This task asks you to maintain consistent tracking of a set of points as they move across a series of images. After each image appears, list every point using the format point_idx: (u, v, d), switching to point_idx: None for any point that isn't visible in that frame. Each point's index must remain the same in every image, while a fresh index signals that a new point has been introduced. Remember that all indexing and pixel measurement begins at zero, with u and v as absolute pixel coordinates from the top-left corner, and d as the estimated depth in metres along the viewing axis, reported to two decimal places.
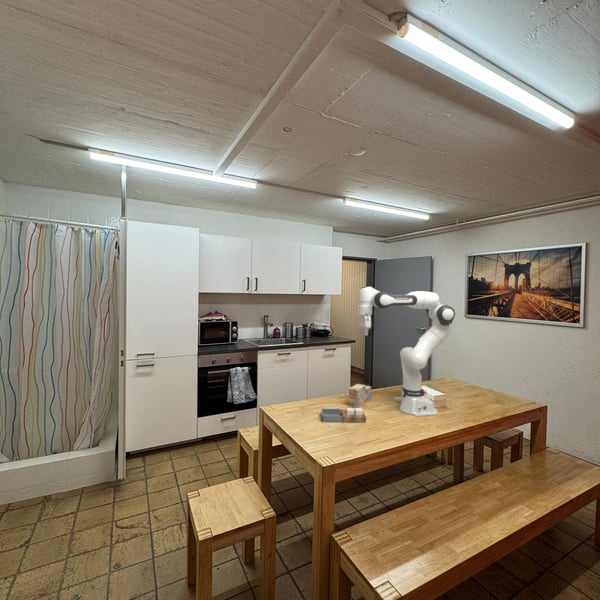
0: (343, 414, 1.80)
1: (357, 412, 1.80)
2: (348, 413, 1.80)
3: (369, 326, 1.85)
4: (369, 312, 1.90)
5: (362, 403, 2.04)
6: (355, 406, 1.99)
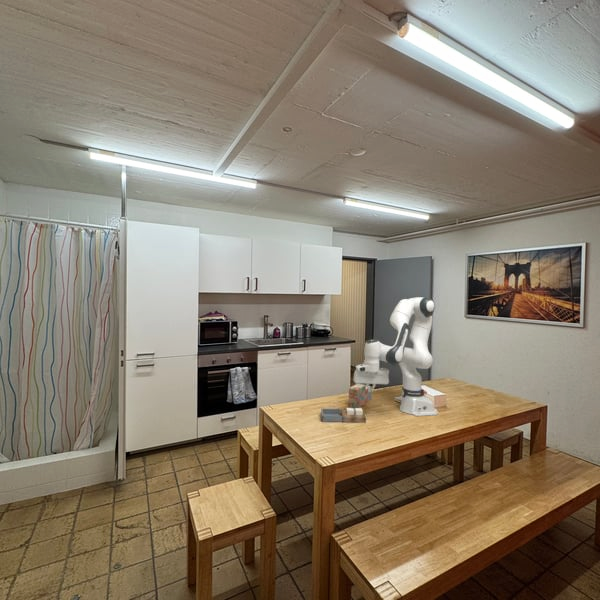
0: (343, 414, 1.80)
1: (357, 412, 1.80)
2: (348, 413, 1.80)
3: None
4: None
5: (362, 403, 2.04)
6: (355, 406, 1.99)
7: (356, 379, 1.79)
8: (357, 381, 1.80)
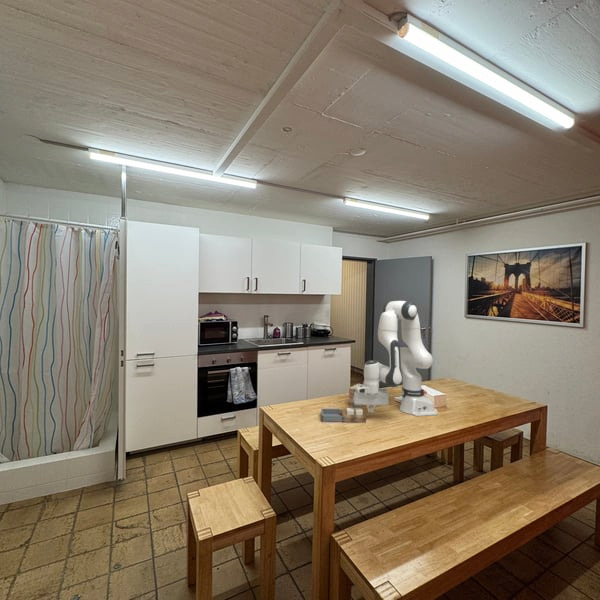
0: (343, 414, 1.80)
1: (357, 412, 1.80)
2: (348, 413, 1.80)
3: None
4: None
5: None
6: (355, 406, 1.99)
7: (356, 400, 1.80)
8: (357, 402, 1.80)
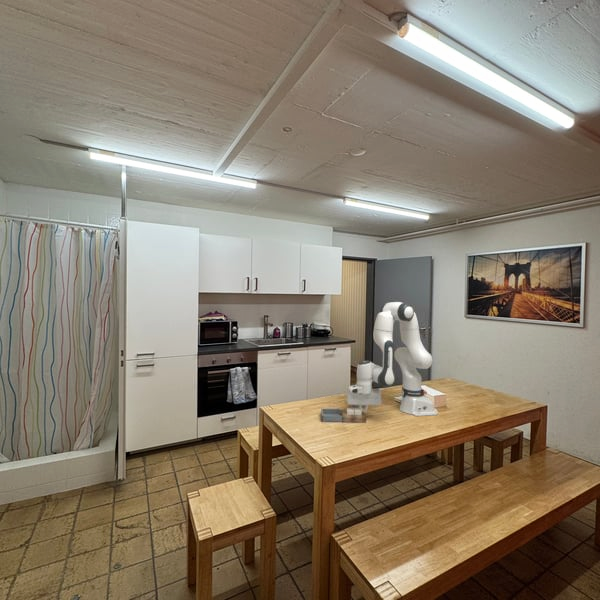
0: (343, 414, 1.80)
1: (356, 412, 1.80)
2: (348, 413, 1.80)
3: None
4: None
5: None
6: (355, 406, 1.99)
7: (349, 401, 1.80)
8: (350, 402, 1.80)
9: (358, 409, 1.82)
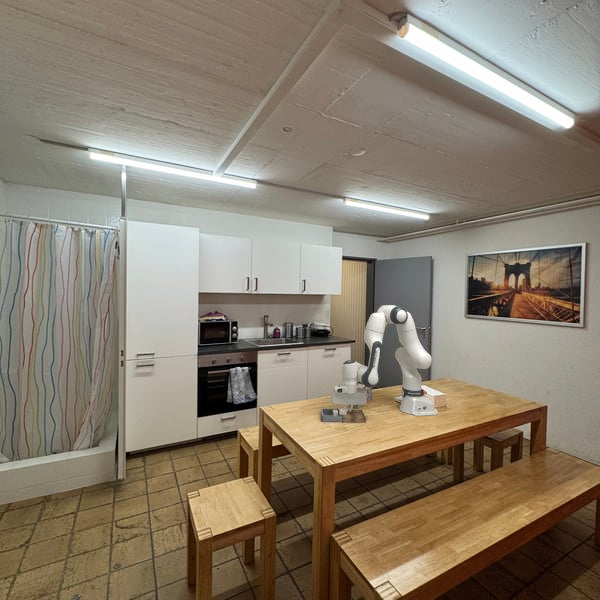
0: None
1: (341, 412, 1.80)
2: None
3: None
4: None
5: None
6: (356, 406, 1.99)
7: (334, 400, 1.80)
8: (335, 402, 1.80)
9: (343, 409, 1.82)
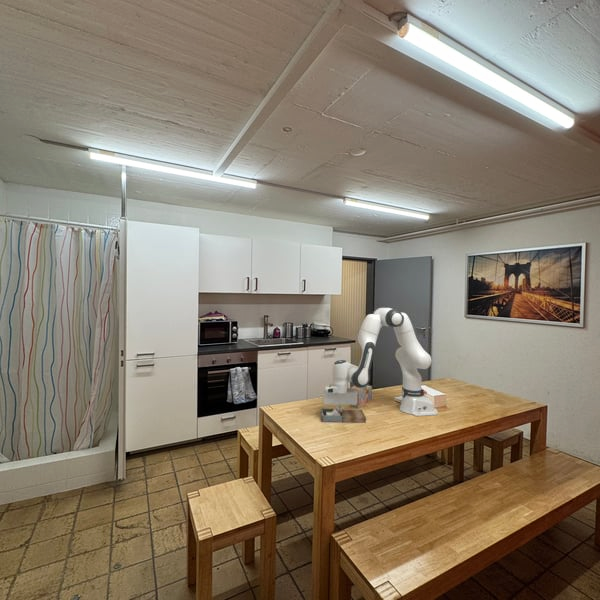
0: (343, 414, 1.80)
1: (335, 413, 1.80)
2: (332, 415, 1.80)
3: None
4: None
5: (363, 403, 2.04)
6: (356, 406, 2.00)
7: (324, 400, 1.80)
8: (325, 402, 1.80)
9: (338, 412, 1.82)
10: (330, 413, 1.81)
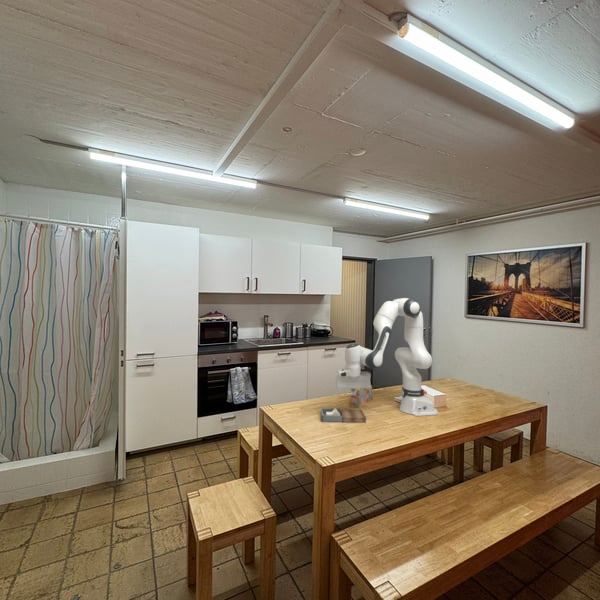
0: (343, 414, 1.80)
1: (335, 413, 1.80)
2: (332, 415, 1.80)
3: None
4: None
5: (363, 403, 2.05)
6: (357, 406, 2.00)
7: (338, 384, 1.80)
8: (339, 386, 1.80)
9: (338, 412, 1.82)
10: (330, 413, 1.81)
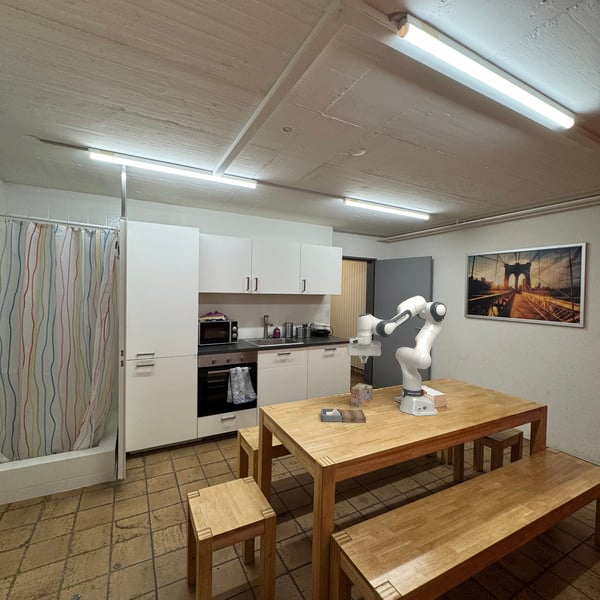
0: (343, 414, 1.80)
1: (335, 413, 1.80)
2: (332, 415, 1.80)
3: None
4: None
5: (364, 402, 2.05)
6: (357, 405, 2.00)
7: (349, 351, 1.87)
8: (350, 353, 1.87)
9: (338, 412, 1.82)
10: (330, 413, 1.81)
